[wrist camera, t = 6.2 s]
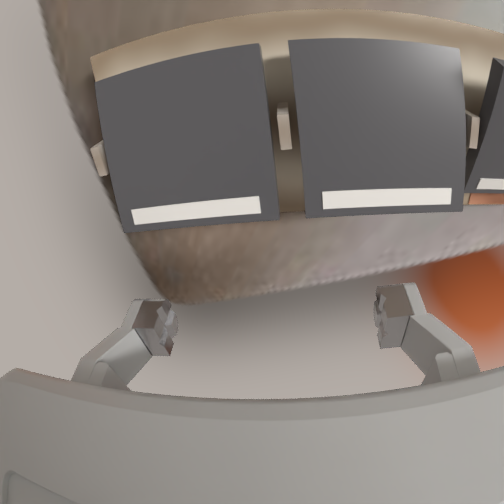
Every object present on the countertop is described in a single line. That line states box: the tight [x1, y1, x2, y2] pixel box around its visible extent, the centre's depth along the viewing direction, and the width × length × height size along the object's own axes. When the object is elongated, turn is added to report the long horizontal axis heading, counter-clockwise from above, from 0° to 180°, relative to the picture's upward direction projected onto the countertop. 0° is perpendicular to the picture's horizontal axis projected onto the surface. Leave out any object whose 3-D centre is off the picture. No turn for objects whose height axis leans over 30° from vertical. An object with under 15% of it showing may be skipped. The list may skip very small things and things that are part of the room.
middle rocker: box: [288, 38, 466, 218], centre depth 16 cm, size 10×10×1 cm
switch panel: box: [90, 9, 504, 212], centre depth 18 cm, size 14×36×6 cm, turn 98°
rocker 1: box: [94, 43, 280, 233], centre depth 17 cm, size 10×10×1 cm
